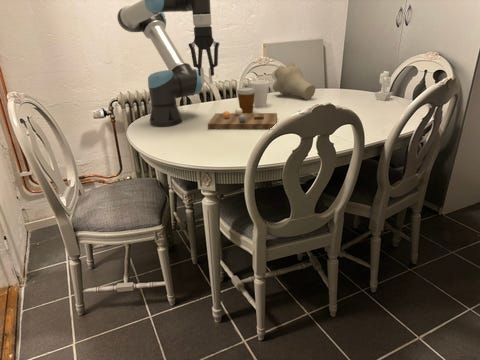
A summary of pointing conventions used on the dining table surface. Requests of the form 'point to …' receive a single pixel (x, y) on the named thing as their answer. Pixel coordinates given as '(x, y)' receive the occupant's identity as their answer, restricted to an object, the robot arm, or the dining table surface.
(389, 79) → the figurine
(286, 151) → the dining table surface
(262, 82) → the foam cup
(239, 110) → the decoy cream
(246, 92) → the disposable coffee cup
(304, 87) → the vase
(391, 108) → the dining table surface
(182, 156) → the dining table surface
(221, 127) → the board
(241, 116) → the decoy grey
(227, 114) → the ball
